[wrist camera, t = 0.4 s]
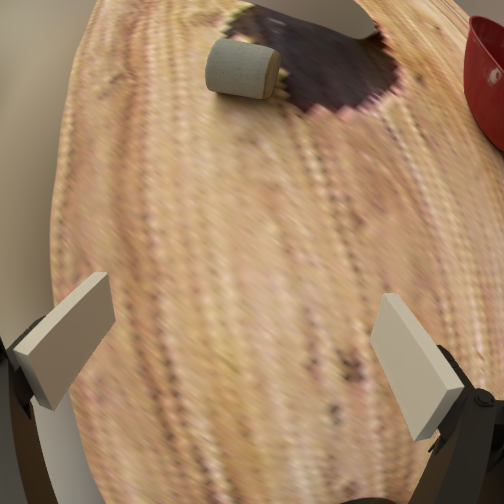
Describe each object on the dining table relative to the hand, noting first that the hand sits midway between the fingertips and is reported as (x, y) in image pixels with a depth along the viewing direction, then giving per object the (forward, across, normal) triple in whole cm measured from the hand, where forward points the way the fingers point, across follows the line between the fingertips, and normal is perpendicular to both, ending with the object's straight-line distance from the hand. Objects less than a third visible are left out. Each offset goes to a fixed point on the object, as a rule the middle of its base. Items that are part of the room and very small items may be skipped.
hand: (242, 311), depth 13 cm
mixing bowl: (+32, -42, -19) cm, 56 cm away
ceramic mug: (+31, +2, -16) cm, 35 cm away
